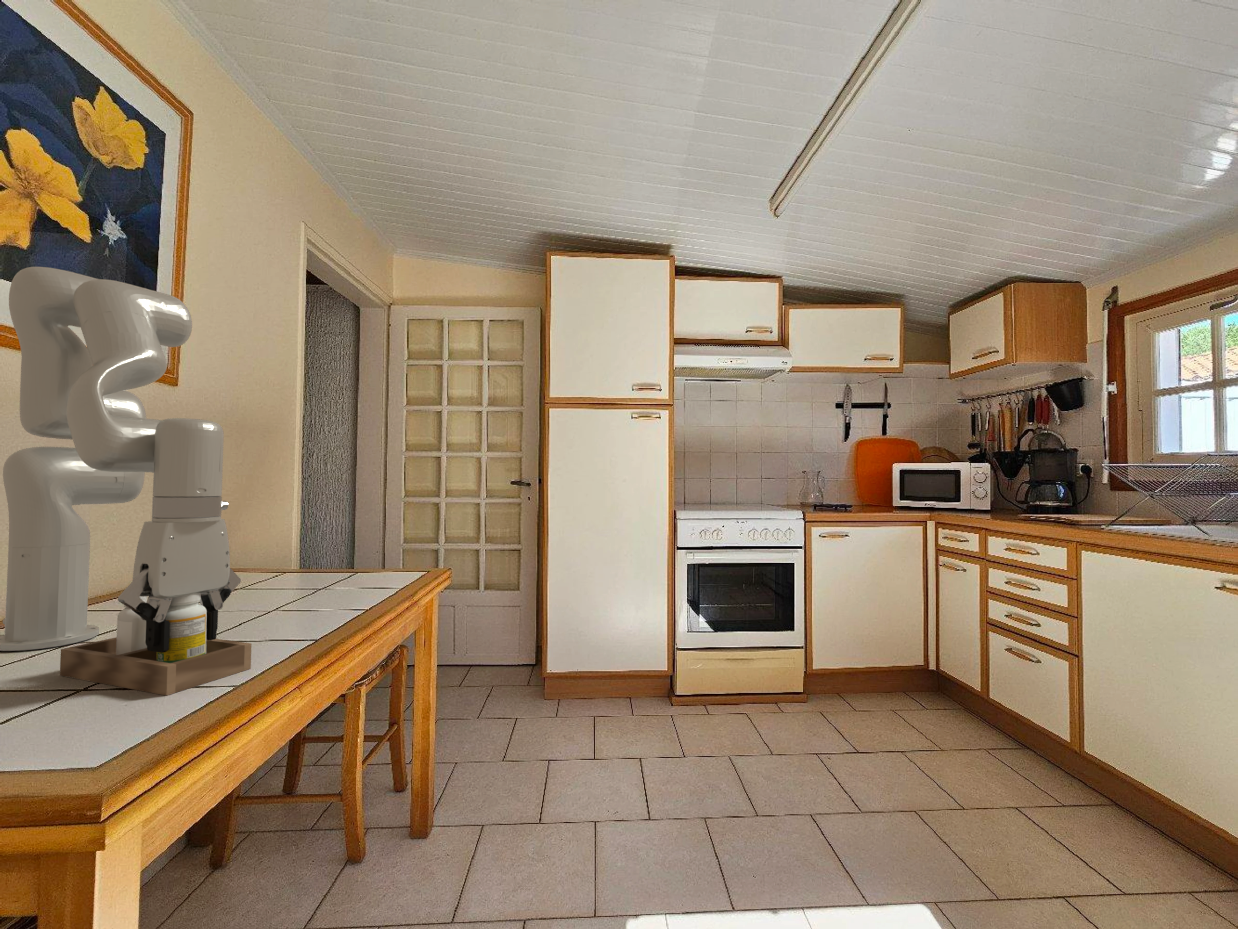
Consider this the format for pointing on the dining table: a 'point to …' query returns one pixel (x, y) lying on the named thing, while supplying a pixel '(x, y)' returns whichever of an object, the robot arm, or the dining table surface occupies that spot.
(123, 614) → the eye dropper bottle
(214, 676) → the walnut rack
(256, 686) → the dining table surface
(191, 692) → the dining table surface
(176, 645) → the supplement bottle
